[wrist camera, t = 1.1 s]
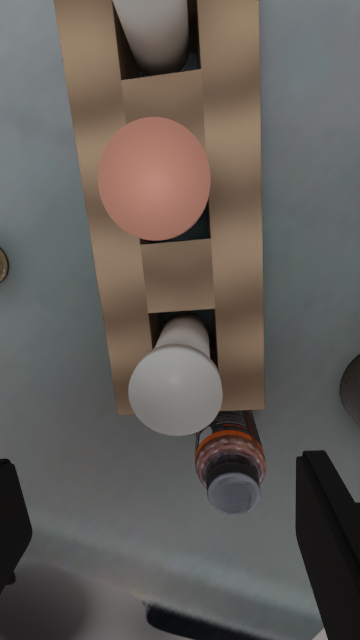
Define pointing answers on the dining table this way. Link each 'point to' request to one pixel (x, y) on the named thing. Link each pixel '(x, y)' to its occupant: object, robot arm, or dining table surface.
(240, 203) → the socket board
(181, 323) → the grey plug
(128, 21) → the grey plug
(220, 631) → the dining table surface
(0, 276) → the sprinkles bottle
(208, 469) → the supplement bottle
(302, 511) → the robot arm
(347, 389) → the pillar candle
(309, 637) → the dining table surface
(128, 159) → the brick plug
